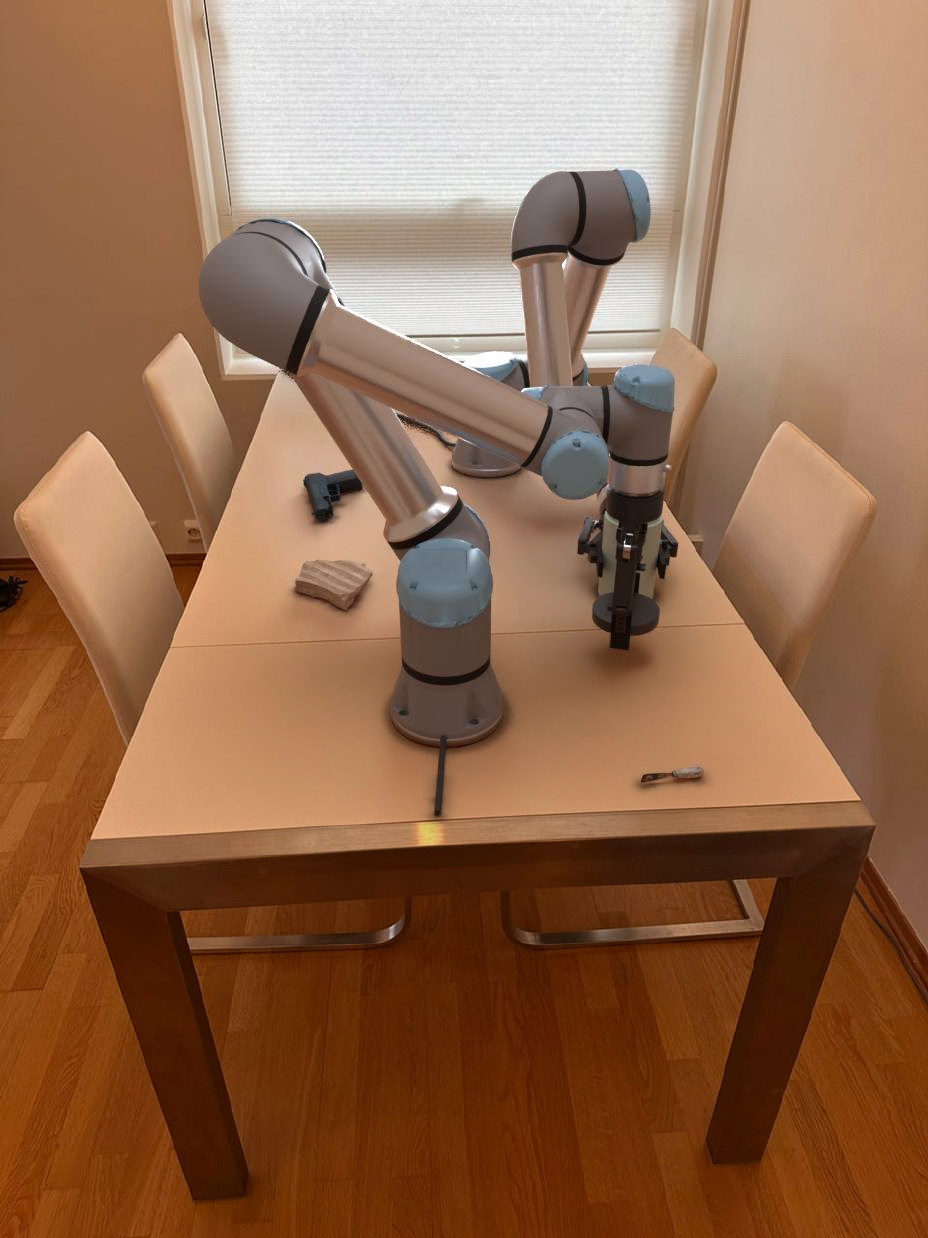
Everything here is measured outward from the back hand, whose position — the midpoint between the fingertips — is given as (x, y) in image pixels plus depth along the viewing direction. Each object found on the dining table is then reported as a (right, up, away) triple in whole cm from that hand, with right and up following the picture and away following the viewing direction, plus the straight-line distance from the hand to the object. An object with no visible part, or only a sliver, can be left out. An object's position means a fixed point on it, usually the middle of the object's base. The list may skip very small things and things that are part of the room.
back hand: (631, 570), depth 141 cm
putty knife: (-1, -28, -31) cm, 42 cm away
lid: (-3, -6, -13) cm, 14 cm away
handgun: (-52, +16, +39) cm, 67 cm away
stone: (-48, -3, +8) cm, 49 cm away
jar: (0, -3, +7) cm, 8 cm away
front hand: (-3, -9, -11) cm, 14 cm away
